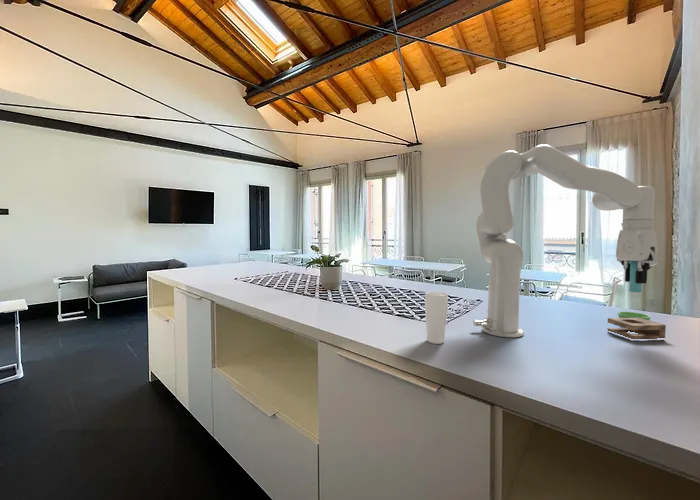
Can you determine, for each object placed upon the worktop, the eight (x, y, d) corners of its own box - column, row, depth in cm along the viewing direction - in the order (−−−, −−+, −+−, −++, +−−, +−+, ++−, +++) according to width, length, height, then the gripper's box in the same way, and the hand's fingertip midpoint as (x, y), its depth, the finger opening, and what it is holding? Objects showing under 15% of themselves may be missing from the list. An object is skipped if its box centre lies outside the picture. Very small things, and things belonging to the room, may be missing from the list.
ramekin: (636, 323, 122) (637, 311, 121) (657, 330, 113) (657, 318, 112) (611, 322, 123) (611, 311, 122) (629, 329, 114) (630, 317, 113)
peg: (635, 292, 103) (636, 261, 102) (626, 290, 106) (627, 260, 105) (644, 292, 103) (645, 261, 103) (635, 290, 106) (636, 260, 106)
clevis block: (632, 341, 101) (632, 325, 100) (607, 332, 110) (607, 318, 109) (664, 340, 101) (665, 325, 101) (637, 332, 110) (638, 317, 110)
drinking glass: (447, 339, 102) (448, 292, 101) (446, 346, 95) (447, 296, 95) (425, 337, 104) (426, 291, 103) (423, 343, 98) (423, 294, 97)
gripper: (604, 226, 111) (603, 279, 112) (652, 224, 95) (649, 286, 96) (625, 226, 112) (623, 278, 113) (675, 224, 96) (673, 286, 97)
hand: (635, 281), depth 104 cm, fingers closed on peg, 3 cm apart
